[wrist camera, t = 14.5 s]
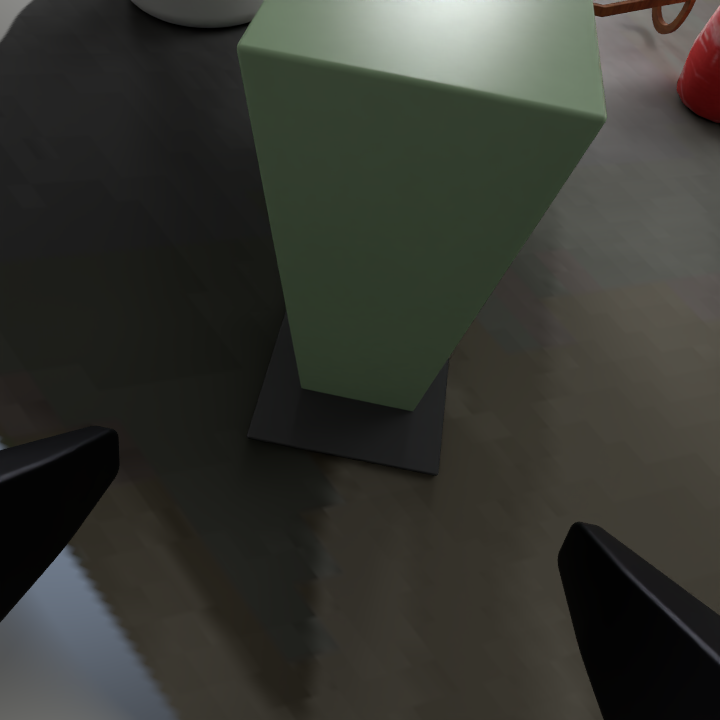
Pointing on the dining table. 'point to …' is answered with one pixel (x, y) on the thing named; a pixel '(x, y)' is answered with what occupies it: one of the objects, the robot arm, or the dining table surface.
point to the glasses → (634, 3)
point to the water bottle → (703, 73)
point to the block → (409, 167)
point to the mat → (346, 418)
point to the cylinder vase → (201, 11)
